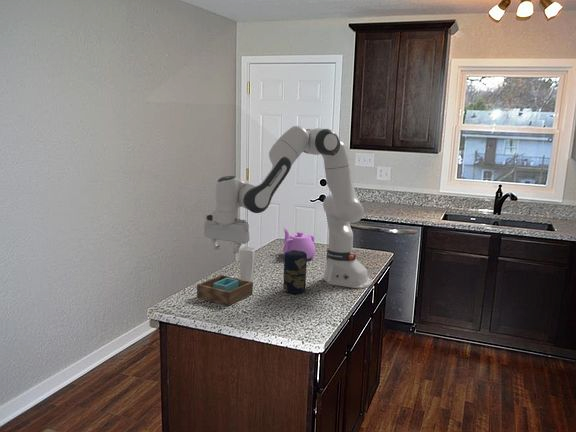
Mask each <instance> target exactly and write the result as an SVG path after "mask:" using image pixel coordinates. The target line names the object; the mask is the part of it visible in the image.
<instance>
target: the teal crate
mask: <svg viewBox="0 0 576 432" xmlns="http://www.w3.org/2000/svg"><path fill="white" fill-rule="evenodd" d="M238 286H239V280H235V279H230V278H225V279H223V280H220V281H218V282H215V283H213V288H217V289H221V290H225V291H231V290H233V289H236V288H238Z"/></svg>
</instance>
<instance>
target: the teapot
mask: <svg viewBox="0 0 576 432" xmlns="http://www.w3.org/2000/svg"><path fill="white" fill-rule="evenodd" d="M283 231H284V245H283V249H282V254H283V256H284V255H285V253H286V252H287V251H292V250H297V251H303V252H305V253H306V254H307V260H311V259H312V258H313V257H314V256H315V255H316V247H315V244H314V243H315V237H314V236H313V235H312V234H304V232H303V231H297V232H296V233H294V234H291V235H290V233H289V230H288V229H286V228H283Z"/></svg>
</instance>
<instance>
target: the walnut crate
mask: <svg viewBox="0 0 576 432" xmlns="http://www.w3.org/2000/svg"><path fill="white" fill-rule="evenodd" d="M225 278H230V279H235V280H239V286H238V288H236V289H233V290H231V291H225V290H221V289H217V288H213V283H215V282H218V281H220V280H223V279H225ZM253 284H254V281H246V280H242V279H240V278H237V277H233V276H229V275H224V274H221V275H217V276H216V277H213V278H210V279H208V280H205V281H203V282H201V283H198V284H197V285H196V286H197V287H196V299H200V300H204V301H209V302H212V303H215V304H219V305H223V306H226V307H227V306H228V307H232V306H233V305H235V304H236V303H239V302H240V301H241V302H242V301H243V300H244V299H247V298H248V297H251V296H253V294H254V293H253V289H254V288H253V287H254V286H253Z"/></svg>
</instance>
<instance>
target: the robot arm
mask: <svg viewBox="0 0 576 432" xmlns="http://www.w3.org/2000/svg"><path fill="white" fill-rule="evenodd" d="M302 153H305V154H308V155H314V156H315V155H316V156H318V155H321V157H322V158H323V166H324V173H325V179H326V180H325V181H326V185H327V188H328V189H329V191H330V193H331V194H328V195H327V196H325V198H324V200H323V203H322V208H323V211H324V212H325V217H326V220H327V221H326V222H327V228H328V229H327V230H328V245H327V247H328V248H327V249H326V264H325V265H326V266H325V270H324V271H325V272H324V274H323V276H322V279H323V280H324V281H325V282H326V283H327V284H328V285H331V286H338V287H345V288H352V289H354V288H355V289H360V290H362V289H365V288H369V287H370V286H372V284H373V279H372V278H369V277H368V274H369V273H368V270H367V268H366V267H365V266H364V264H362V263H361V262H360V261H359V260H357V259H356V258H357V255H358V252H355V251H354V250H353V247H354V246H353V244H354V232H353V230H352V228H351V224H354V223H358V222H360V221H361V219H362V218H363V216H364V213H365V211H364V209H365V208H364V207H363V205H362V203H361V202H360V200H359V198H358V194H357V192H356V190H355V187H354V184H353V179H352V172H351V166H350V165H351V164H350V158H349V155H348V151H347V147H346V145H345V143H344V142H343V141H340V139H339V136H338V134H337V133H336V132H335V131H334V130H332V129H329V128H320V127H317V128H311V129H310V128H308V129H305V127H302V126H300V125H293V126H292V127H290V128H289V129H288V130H286V131H285V132H284V133H283V134H282V135H281V136H280V137H279V138H278V139H277V140H276V141H275V143H273V145H272V147H271V148H270V150H269V152H268V156H269V157H268V158H269V161H270V163H271V164H272V166H271V167H272V168H271V169H270V171H269V172H268V173H267V175H266V176H265V177H264V179H263V181H261V183H259V184H258V185H253V184H251V183H247V182H244V181H242V180H241V179H239V178H238V177H237V176H235V175H227V176H226V175H225V176H222V177H220V178H219V179H218V180H216V181H217V182H216V186H215V202H216V206H215V209H214V212H212V213H209V214H205V216H204V220H205V222H204V223H203V235H204V237H205V238H208V239H211V242H212V244H213V249H214V250H216V251H218V250H220V244H219V243H218V240H220V241H223V242H224V241H225V242H231V243H235V244H234V245H235V248H233V249H232V253H233V254H238V253H239V249H240V248H241V246H242V245H245V244H247V243H249V241H250V229H249V226H250V224H249V223H248V222H247V220H245V219H239V208H244V209H247V210H248V211H250V212H252V213H253V214H260V213H263V212H264V211H266V210H267V209H268V208H269V206H270V204H271V201H272V199H273V196H274V195H275V193H276V192H277V190H278V188H279V187H280V186H281V184H282V183H283V182H284V180H285V179H286V178H287V175H288V174H289V172H290V170H291V168H292V166H293V164H294V163H295V162H296V161H297V159H298V158H299V157H300V156H301V155H302Z"/></svg>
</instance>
